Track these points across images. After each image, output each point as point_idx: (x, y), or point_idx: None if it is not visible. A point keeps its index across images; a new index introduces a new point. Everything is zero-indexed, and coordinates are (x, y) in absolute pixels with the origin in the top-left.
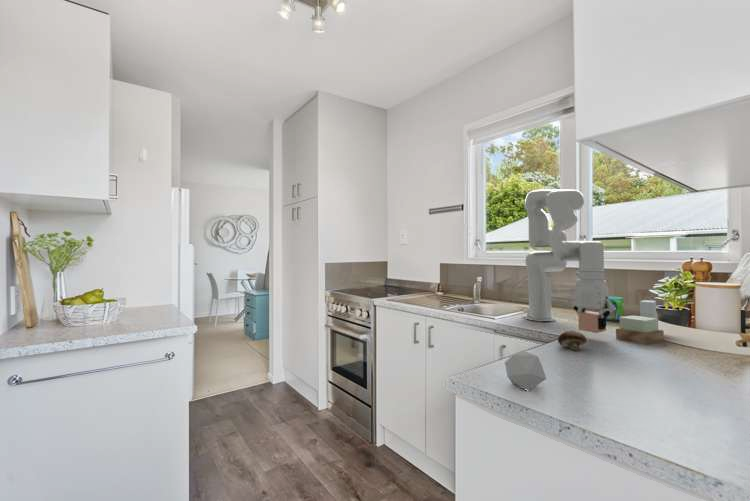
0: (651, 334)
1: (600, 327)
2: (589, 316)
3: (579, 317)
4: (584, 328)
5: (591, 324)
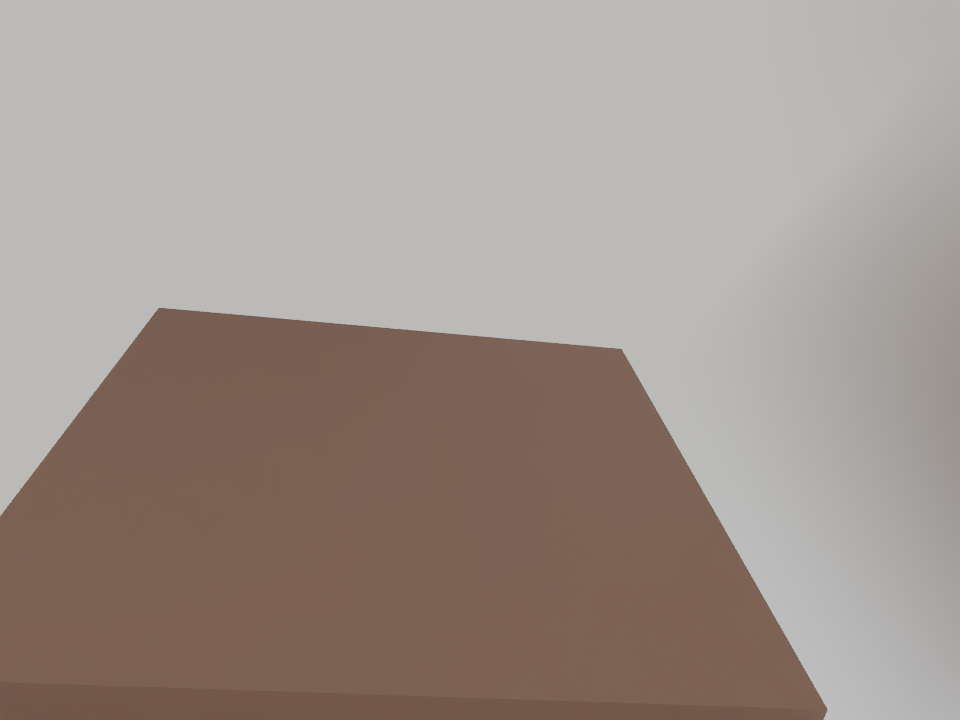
0: None
1: None
2: (262, 611)
3: (700, 553)
4: (471, 358)
5: (242, 422)
